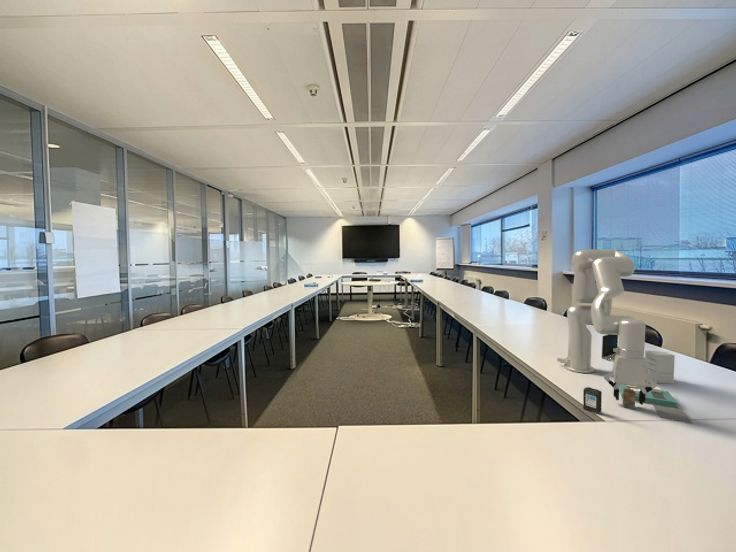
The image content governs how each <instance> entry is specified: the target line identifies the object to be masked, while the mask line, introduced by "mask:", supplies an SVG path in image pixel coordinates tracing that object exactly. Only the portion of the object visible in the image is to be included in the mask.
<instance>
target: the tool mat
mask: <svg viewBox="0 0 736 552" xmlns="http://www.w3.org/2000/svg"><path fill="white" fill-rule="evenodd" d="M652 405H653V408H654V410H655V411H656V412H657V414H658V416H659V418H662V419H667V420H672V419H673V421H678V420H679V422H683V421H685V423H689V422H691V423H690V424H693V421H692V420H691V419H690V418H689V416H688V415H687V414H686V413H685V411H684V410H683V409H679V408H673V407H668V406H662V405H656V404H652Z"/></svg>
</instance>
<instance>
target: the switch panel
mask: <svg viewBox="0 0 736 552" xmlns="http://www.w3.org/2000/svg"><path fill="white" fill-rule="evenodd" d="M623 388H626V389H630V388H633V389H640V387H637V386H631V385H624V384H620V386H619V387H618V389H619V396H620V398H621V399H622V400H623ZM640 390H641V389H640ZM635 402H639V394H635ZM639 403H640V402H639ZM644 403H645V404H652V405H657V406H663V407H669V408H674V409H678V402H677V401H676V399H675V398H674V397H673V395H672V394H671V393H670V391H669V390H664V389H663V390H662V389H661V393H658V392H652V391H649V392H648V393H647V394H646V395H645V402H643V404H644Z"/></svg>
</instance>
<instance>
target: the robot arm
mask: <svg viewBox="0 0 736 552" xmlns="http://www.w3.org/2000/svg"><path fill="white" fill-rule="evenodd" d="M571 264H572V268H573V273H574V277H573V286H572V300H574V301H573V302H575V303H580V304H574V305H571V306H569V307H568V309H567V311H566V316H567V317H566V318H567V322H568V324H567V325H568V348H567V357H564V358H561V357H557V359H556V361H557V362H560V363H559V364H564V365H563V367H564V368H565V369H566V370H568V371H571V372H575V373H582V374H590V373H594V372H595V368H594V366H591V365H592V359H591V358H592V338H593V337H592V335H593V334H592V333H591V331H590V329H589V328H588V327H587V326H593V328H594V330H595V331H596V332H597V333H598V334H600V335H618V348H613V352H616V353H618V354H616V356H615V359H614V361H613V367H612V370H611V371H610V372H608V373H607V374H604V375H603V379H604V380H605V381H606V382H607V383H608V384H609V385H610V386H611V387H612V388H613V397H614V398H615V400H616V401H620V392H619V389H618V387H619V386H620V384H624V385H631V386H637V387H640V389H641V390H640V391H639V404H640V405H642V406H643V405H644V402H645V395H646V394H647V393H648V392H649V391H651V390H652V389H654V388H656V387H658V383H655V382H654V381H653V380H652V379H651V378H650V377H649V371H648V362H647V359H646V358H645V348H646V347H645V345H646V344H645V343H646V323H645V322H644V321H642V320H639V319H637V318H635V317H633V316H630V315H618V314H617V315H615V314H612V315H611V312H612V304H613V298H617V297H618V296H620V295H622V294H623V293H624V291H625V288H624V286H623V281H622V278H626V277H631V276H632V275H633V274H634V272H635V271H636V268H635V264H634V261H633V260H632V258H630V257H629V256H628V255H626V254H625V253H622V252H621V251H619V250H617V249H580V250H578V251H576V252H575V253H574V254H573V255H572V263H571ZM621 277H622V278H621ZM589 304H590V305H589ZM610 378H612V379H613V381H612V379H610ZM649 383H650V384H649Z"/></svg>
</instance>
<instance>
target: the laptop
mask: <svg viewBox="0 0 736 552" xmlns="http://www.w3.org/2000/svg"><path fill="white" fill-rule="evenodd" d="M618 341H619V335H606V334H603V335H602V340H601V360H604V359H606V360H605V361H609V360H610V362H612V361H613V362H614V359H615V356H616V354H618V353H616V352H613V348H618ZM610 358H611V359H610ZM607 359H608V360H607Z"/></svg>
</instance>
